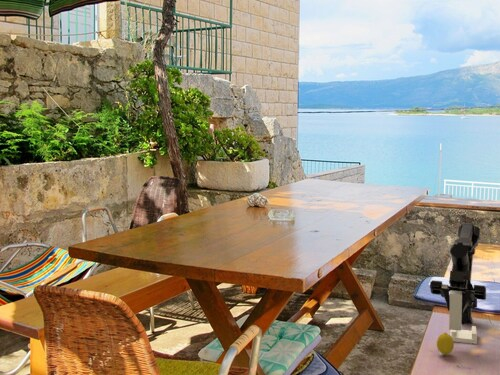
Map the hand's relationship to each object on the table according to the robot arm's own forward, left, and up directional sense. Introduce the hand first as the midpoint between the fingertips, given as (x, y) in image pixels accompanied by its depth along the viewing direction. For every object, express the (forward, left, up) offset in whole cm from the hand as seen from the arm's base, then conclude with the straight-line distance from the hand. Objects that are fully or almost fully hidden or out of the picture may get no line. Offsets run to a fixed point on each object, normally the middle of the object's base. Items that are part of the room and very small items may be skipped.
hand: (455, 311), depth 209 cm
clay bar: (-1, 0, -7) cm, 7 cm away
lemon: (+7, -3, -14) cm, 16 cm away
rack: (-11, +3, -13) cm, 18 cm away
